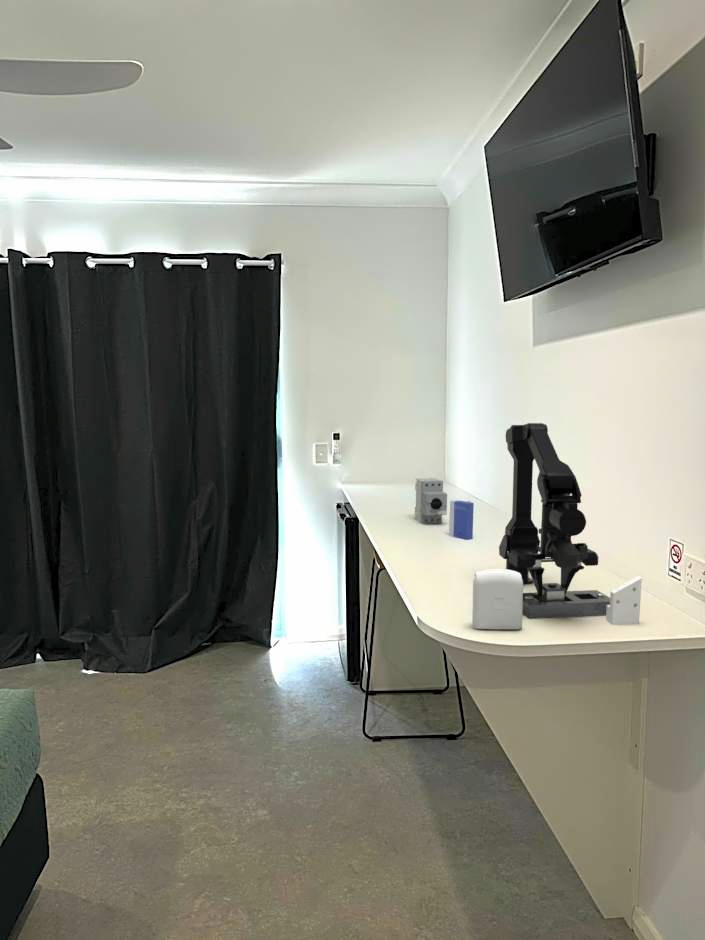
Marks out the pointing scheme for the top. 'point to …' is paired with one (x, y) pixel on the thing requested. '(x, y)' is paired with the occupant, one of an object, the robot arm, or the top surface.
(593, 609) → the metal cover plate
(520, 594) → the photo printer
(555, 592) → the drawer with knob
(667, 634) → the top surface
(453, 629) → the top surface
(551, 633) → the top surface
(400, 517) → the top surface
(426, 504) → the circuit breaker
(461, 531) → the walkman
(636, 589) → the white angled block
